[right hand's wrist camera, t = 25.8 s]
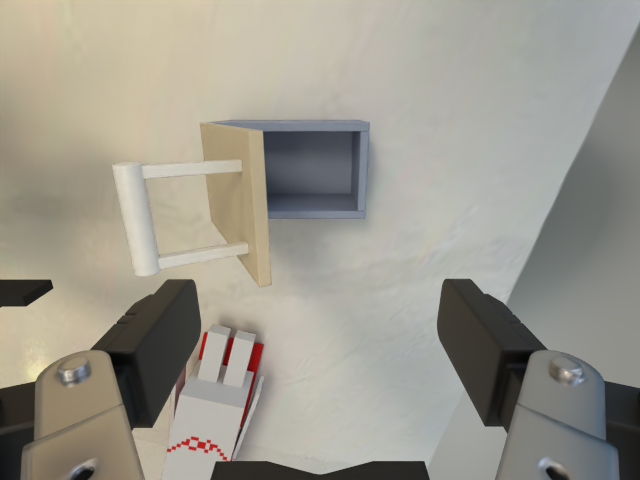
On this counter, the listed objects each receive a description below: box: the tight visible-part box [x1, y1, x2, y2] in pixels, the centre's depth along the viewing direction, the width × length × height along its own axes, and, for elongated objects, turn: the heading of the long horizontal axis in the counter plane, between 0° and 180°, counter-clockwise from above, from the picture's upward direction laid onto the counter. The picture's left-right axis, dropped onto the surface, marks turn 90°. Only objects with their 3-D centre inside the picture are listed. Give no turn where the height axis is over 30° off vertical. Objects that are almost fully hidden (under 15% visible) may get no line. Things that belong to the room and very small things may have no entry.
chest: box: [207, 120, 369, 219], centre depth 39 cm, size 16×10×9 cm, turn 90°
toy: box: [161, 324, 264, 480], centre depth 52 cm, size 12×13×30 cm
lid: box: [112, 123, 272, 287], centre depth 26 cm, size 16×10×8 cm
